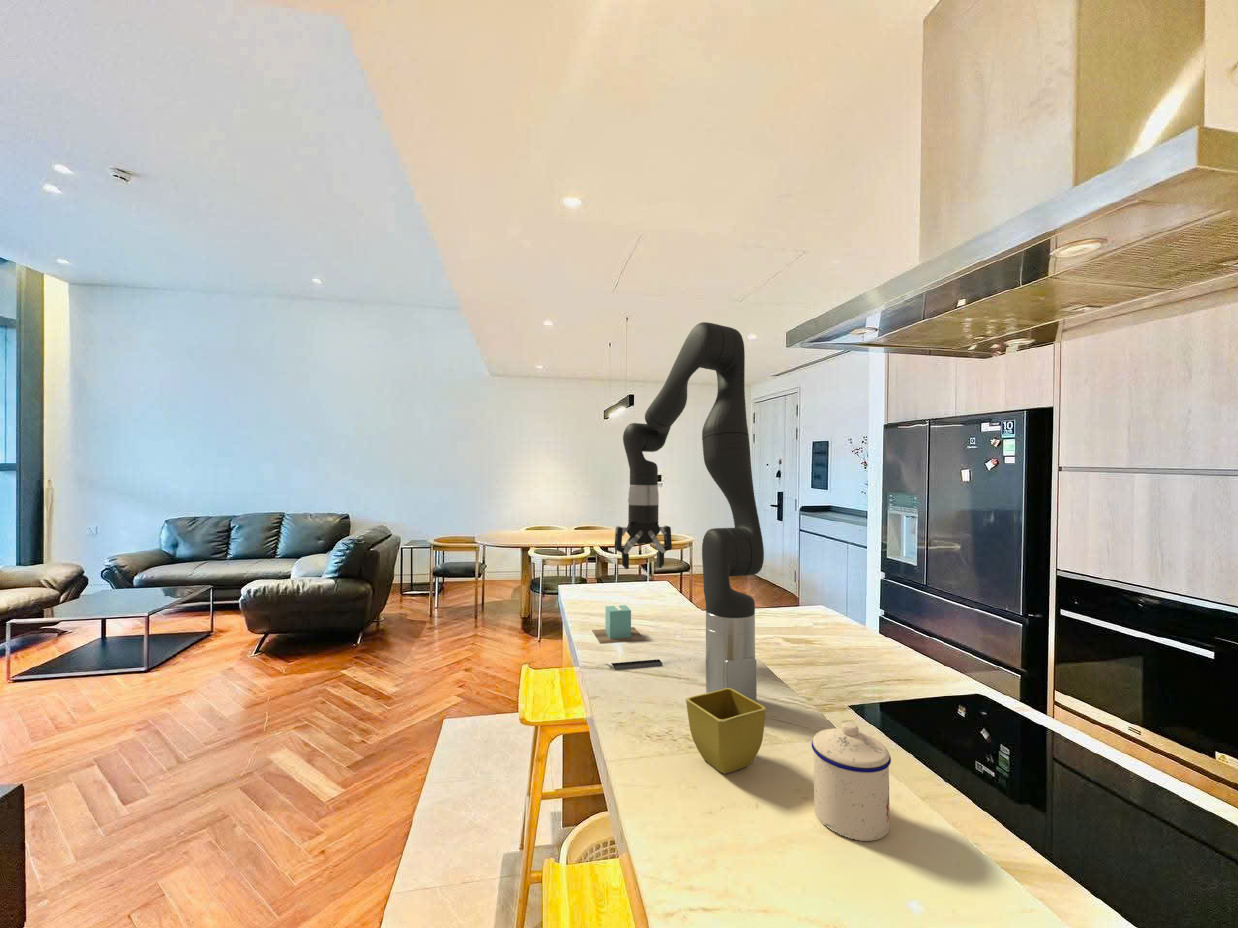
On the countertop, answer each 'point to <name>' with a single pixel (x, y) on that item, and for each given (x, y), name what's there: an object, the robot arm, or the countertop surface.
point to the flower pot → (726, 728)
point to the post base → (604, 638)
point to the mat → (637, 664)
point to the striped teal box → (618, 621)
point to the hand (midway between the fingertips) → (643, 567)
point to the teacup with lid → (851, 782)
